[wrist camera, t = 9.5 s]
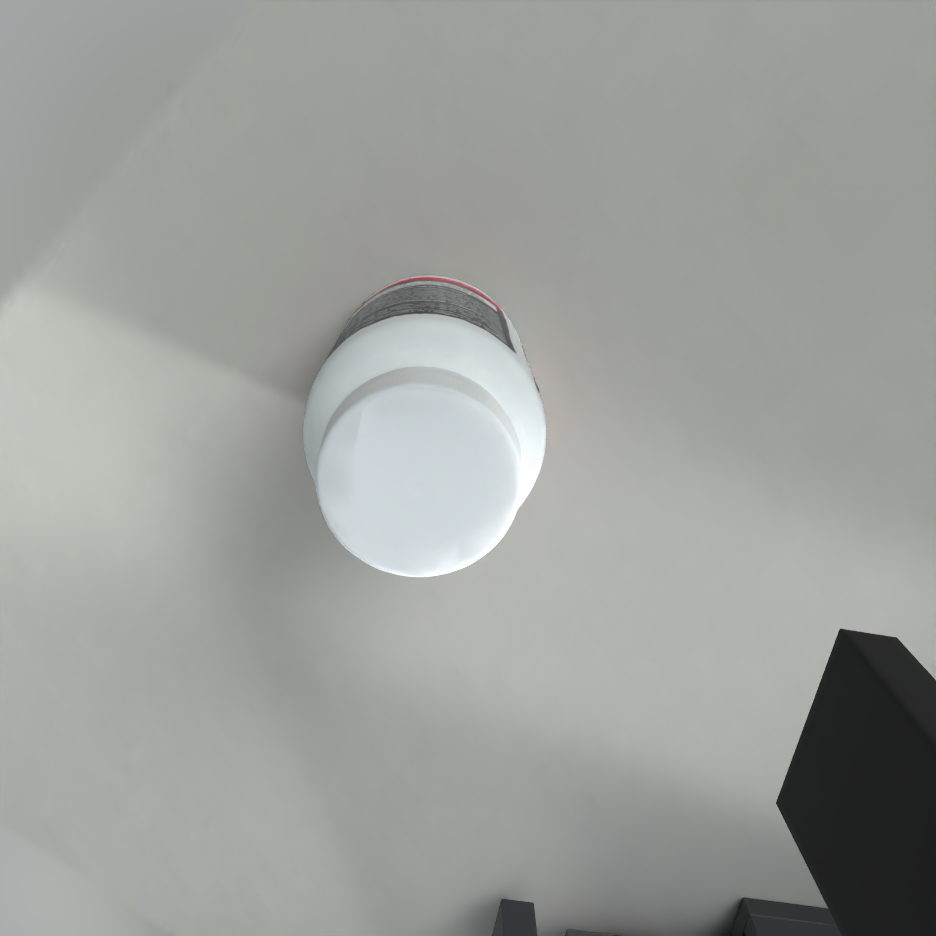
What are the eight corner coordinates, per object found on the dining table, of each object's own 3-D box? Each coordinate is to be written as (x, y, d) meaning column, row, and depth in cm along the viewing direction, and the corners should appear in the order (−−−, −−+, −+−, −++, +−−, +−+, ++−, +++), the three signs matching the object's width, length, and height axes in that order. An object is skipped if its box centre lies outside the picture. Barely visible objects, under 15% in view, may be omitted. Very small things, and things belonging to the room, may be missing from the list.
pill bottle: (300, 347, 26) (217, 458, 17) (448, 232, 25) (446, 282, 16) (415, 487, 27) (397, 658, 18) (559, 384, 26) (617, 510, 17)
